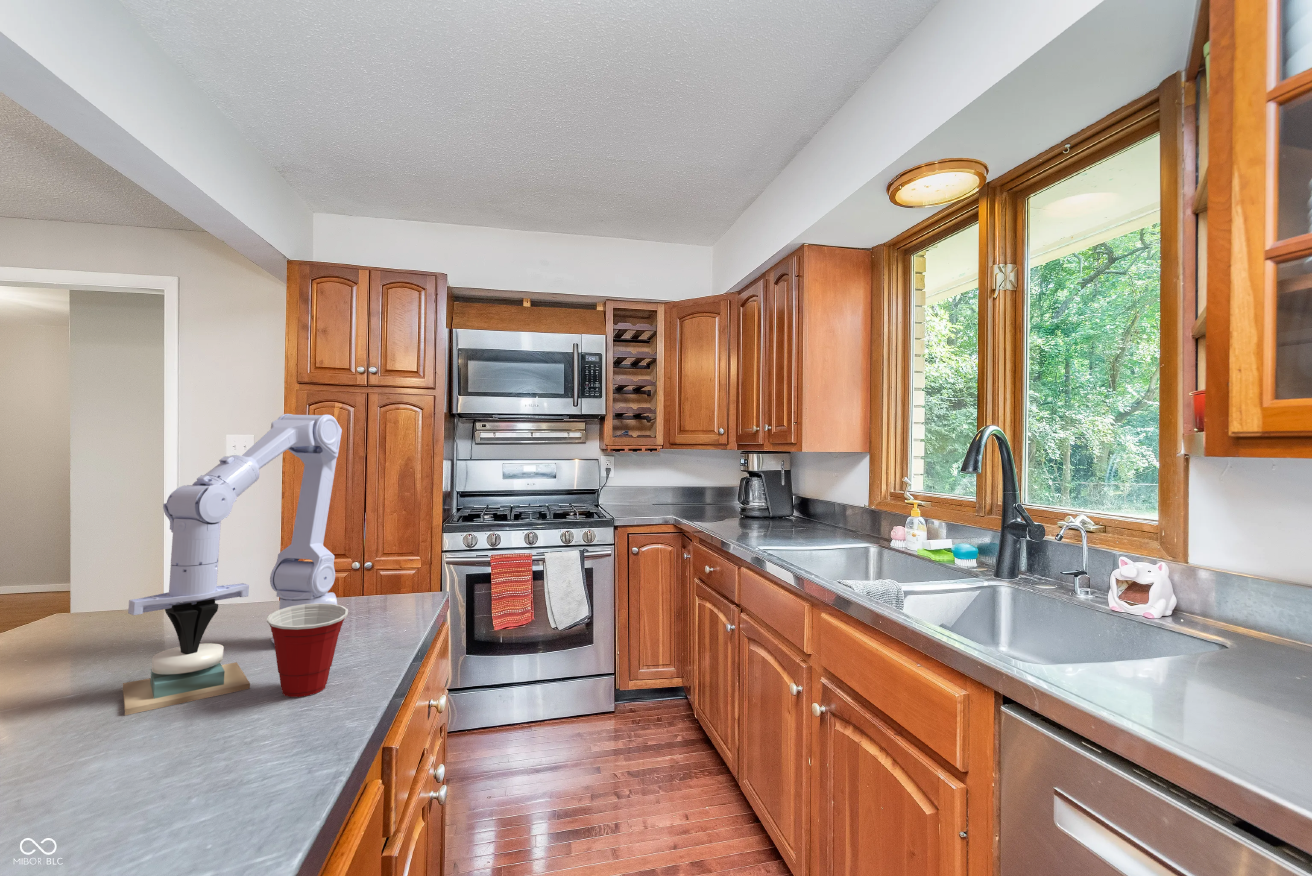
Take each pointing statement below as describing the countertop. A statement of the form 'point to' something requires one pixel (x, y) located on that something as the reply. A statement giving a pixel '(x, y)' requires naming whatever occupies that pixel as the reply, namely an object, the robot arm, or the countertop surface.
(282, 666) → the plastic cup
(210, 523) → the robot arm
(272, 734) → the countertop surface
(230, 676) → the dispenser base
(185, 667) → the disc
